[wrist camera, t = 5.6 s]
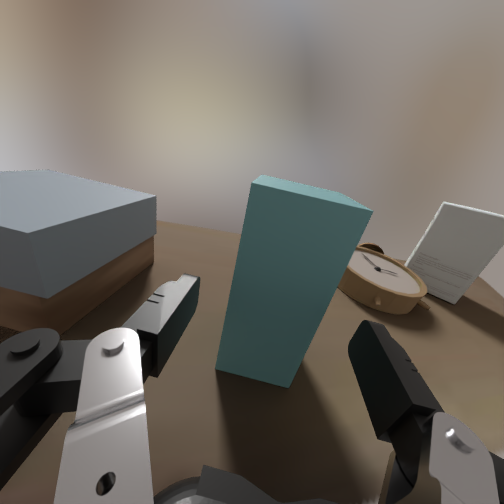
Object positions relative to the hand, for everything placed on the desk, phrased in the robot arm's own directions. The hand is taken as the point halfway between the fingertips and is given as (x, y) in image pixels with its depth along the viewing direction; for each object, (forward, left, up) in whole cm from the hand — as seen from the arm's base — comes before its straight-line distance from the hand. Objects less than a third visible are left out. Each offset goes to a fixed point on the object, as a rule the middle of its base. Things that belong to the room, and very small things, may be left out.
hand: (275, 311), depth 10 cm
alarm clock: (+14, +20, -7) cm, 25 cm away
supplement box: (+26, +23, -7) cm, 36 cm away
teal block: (0, +3, -7) cm, 7 cm away
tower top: (-18, +5, -3) cm, 19 cm away
